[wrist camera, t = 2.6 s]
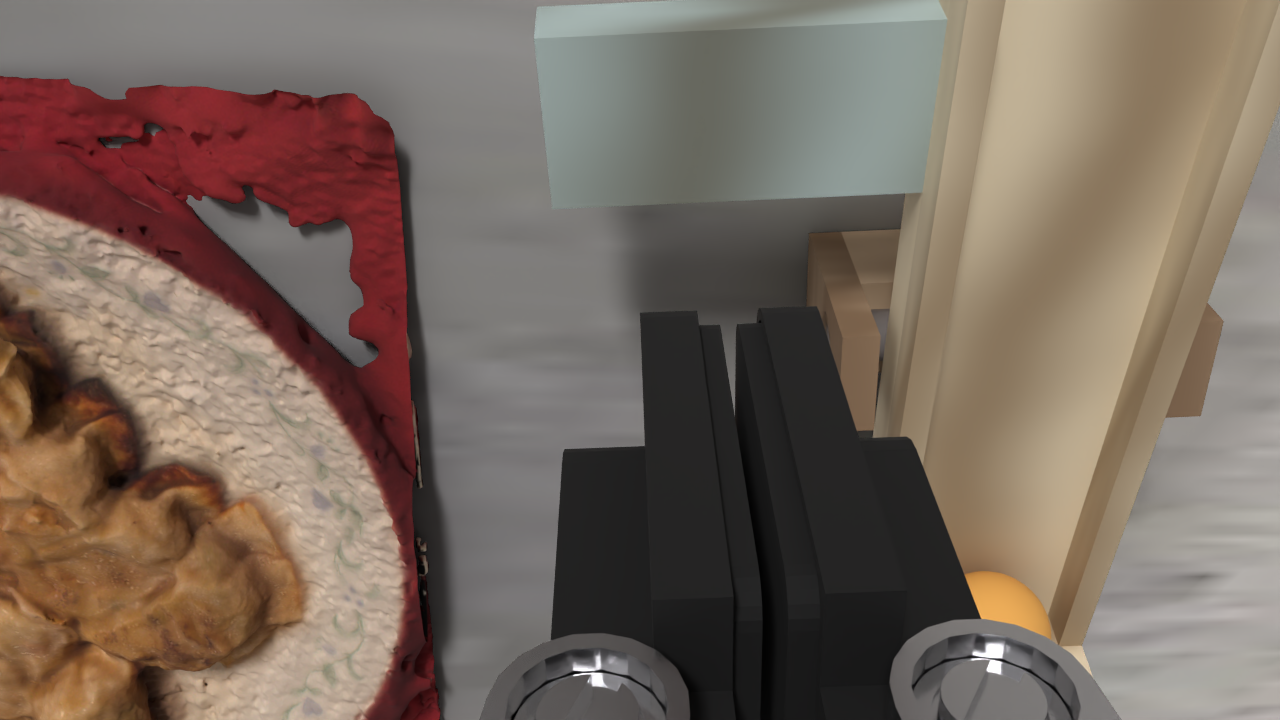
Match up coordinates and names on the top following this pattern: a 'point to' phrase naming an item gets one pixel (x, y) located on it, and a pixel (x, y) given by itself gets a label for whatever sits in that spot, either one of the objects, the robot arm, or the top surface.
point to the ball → (1008, 601)
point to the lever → (963, 214)
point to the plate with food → (201, 419)
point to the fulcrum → (860, 304)
